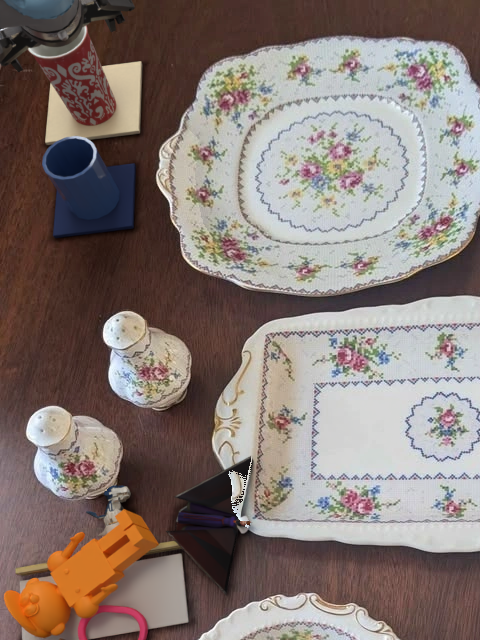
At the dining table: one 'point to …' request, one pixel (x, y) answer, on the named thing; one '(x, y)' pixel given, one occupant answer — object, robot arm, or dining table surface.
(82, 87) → the mug
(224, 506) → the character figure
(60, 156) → the blue cup
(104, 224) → the navy mat
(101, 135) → the cream mat
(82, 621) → the fitness band
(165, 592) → the sign holder
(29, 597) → the toy
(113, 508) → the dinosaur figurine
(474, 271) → the dining table surface
